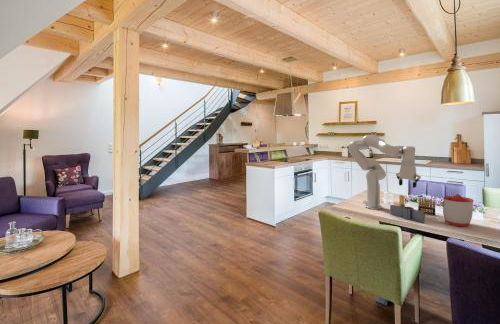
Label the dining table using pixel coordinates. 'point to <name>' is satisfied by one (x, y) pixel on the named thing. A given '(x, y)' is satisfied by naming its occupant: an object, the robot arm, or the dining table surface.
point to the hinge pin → (401, 200)
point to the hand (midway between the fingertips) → (407, 186)
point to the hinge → (407, 213)
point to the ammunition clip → (426, 206)
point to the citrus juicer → (457, 210)
